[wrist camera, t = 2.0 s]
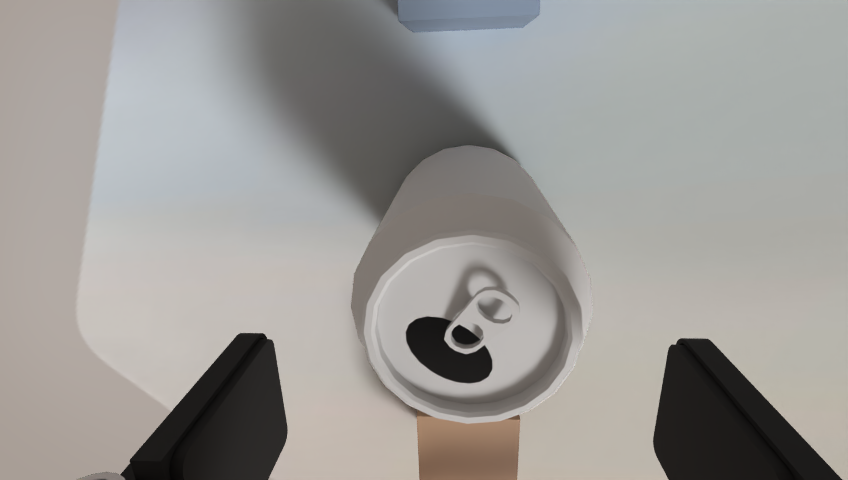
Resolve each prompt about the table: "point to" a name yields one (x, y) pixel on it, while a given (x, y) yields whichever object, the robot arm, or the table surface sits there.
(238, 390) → the robot arm
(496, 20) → the slate block
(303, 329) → the table surface
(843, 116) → the table surface
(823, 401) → the table surface
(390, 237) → the can
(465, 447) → the walnut block
